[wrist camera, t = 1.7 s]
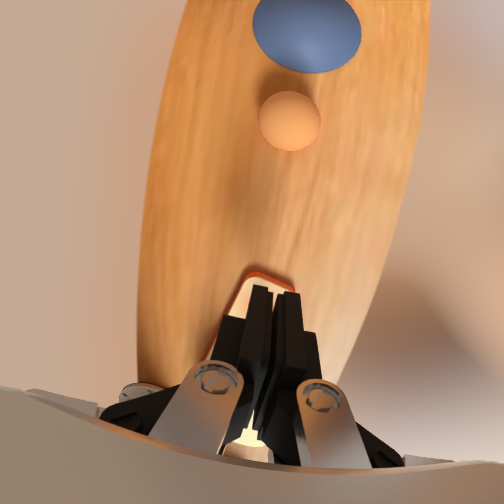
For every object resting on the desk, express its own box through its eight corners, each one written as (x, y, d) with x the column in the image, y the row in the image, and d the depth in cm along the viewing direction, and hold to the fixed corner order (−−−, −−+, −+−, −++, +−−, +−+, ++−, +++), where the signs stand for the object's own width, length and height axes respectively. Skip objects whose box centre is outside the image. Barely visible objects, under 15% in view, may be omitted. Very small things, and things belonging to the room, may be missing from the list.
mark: (279, 87, 29) (279, 87, 29) (236, 2, 26) (236, 1, 26) (378, 58, 27) (378, 58, 27) (332, -24, 24) (332, -24, 23)
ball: (272, 158, 32) (271, 161, 26) (250, 107, 30) (245, 99, 25) (324, 139, 31) (335, 138, 25) (303, 88, 29) (309, 76, 23)
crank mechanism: (249, 267, 36) (224, 381, 18) (299, 289, 37) (315, 411, 19) (185, 396, 45) (152, 497, 27) (223, 411, 45) (203, 513, 27)
